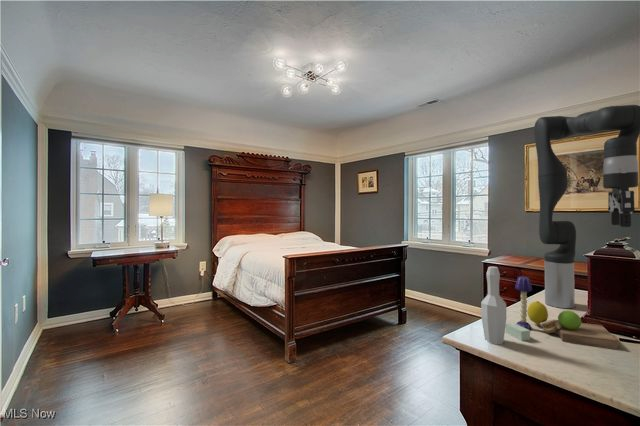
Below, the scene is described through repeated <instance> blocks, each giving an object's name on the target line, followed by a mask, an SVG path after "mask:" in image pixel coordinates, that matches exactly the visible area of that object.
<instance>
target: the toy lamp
mask: <svg viewBox="0 0 640 426" xmlns="http://www.w3.org/2000/svg"><path fill="white" fill-rule="evenodd" d="M514 289H515V290H517V291H520V310H519V311H520V317H519V318H520V319H519V321H517V322H516V324H517V325H519V326H521V327H524V328H526V329H528V330H530V331H531V330H532V325H531V324H530V323H529V322H527V316H528V312H527V311H528V304H527V303H528V300H527V299H528V296H527V294H528V292H532V291H533V287H532V284H531V280H530V277H527V276H524V275H523V276H518V277H517V279H516V282H515V286H514Z"/></svg>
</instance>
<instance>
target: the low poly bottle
mask: <svg viewBox="0 0 640 426" xmlns="http://www.w3.org/2000/svg"><path fill="white" fill-rule="evenodd" d="M500 276H501V273H500V270H499V267H497V266H488V268H487V271H486V282H487V295H486V296H485V297H484V298H483V299H482V301H480V302H481V303H480V308H481V309H480V310H481V312H480V313H481V315H480V316H481V321H482V322H481V323H482V329H483V334H484V335H483V336H484V341H486V340H487V341H486V342H487V343H489V342H490V343H491V344H493V343H494V345H502V344H503V343H504V341H505V334H506V324H507V302H505V300H504V299H503V298H502V297H501V296H500V278H501V277H500ZM490 343H489V344H490Z"/></svg>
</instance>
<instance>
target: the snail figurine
mask: <svg viewBox="0 0 640 426" xmlns="http://www.w3.org/2000/svg"><path fill="white" fill-rule="evenodd" d="M557 320H558V321H557ZM581 323H582V318H581V317H580V315H578V314H577V313H576V312H574V311H571V310H563V311H560V312H559V314H558V316H557V319H554V320H553V319H549V320H548V319H547V321H545V322H541V323H539V324H540V325H538V324H536V323H535V326H536V327H537V328H539V327H540V326H541V327H542V330H543V331H544V332H545V333H547V334H552V333H555V332H556V331H557V330H558V329H560V328H561V327H562V326H563V327H565V328H567V329H571V330H574V329H577V328H579V327H580V325H581Z"/></svg>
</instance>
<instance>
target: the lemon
mask: <svg viewBox="0 0 640 426" xmlns="http://www.w3.org/2000/svg"><path fill="white" fill-rule="evenodd" d="M526 313H527V316H528V318H529V320H530V321H531V322H533V323H534V324H535V325H536V324H538V326H539V325H540V324H539V323H541V322H545V321H548V318H549V312H548V308H547V307H546V305H545V304H543V303H542V302H540V301H538V300H536V301H533V302H531V303H529V305H528V306H527V312H526ZM540 326H541V325H540Z"/></svg>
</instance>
